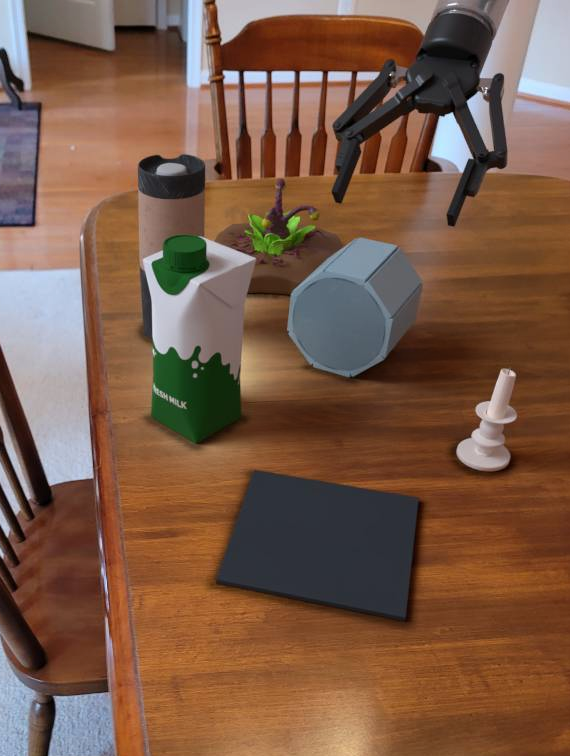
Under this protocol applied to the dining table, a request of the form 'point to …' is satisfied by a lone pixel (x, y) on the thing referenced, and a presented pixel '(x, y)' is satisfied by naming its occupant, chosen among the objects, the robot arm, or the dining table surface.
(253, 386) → the dining table surface
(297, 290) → the pail
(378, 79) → the robot arm
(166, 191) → the travel mug
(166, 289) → the milk carton
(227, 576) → the mat
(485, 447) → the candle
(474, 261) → the dining table surface
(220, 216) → the dining table surface
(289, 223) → the plant
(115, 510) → the dining table surface
